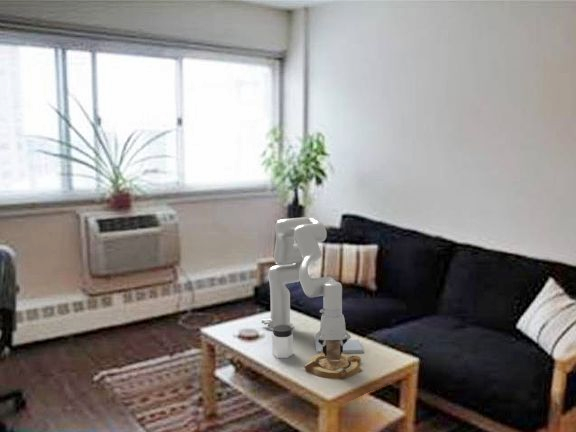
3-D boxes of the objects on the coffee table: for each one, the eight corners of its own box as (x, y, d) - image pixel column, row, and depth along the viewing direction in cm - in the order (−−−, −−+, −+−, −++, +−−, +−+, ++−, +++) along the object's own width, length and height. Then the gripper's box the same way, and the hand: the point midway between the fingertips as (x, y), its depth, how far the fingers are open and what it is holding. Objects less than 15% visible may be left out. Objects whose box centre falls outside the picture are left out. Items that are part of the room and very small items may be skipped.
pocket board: (317, 354, 245) (317, 350, 245) (314, 343, 257) (314, 340, 256) (363, 353, 246) (363, 349, 245) (358, 342, 257) (358, 339, 257)
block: (326, 360, 229) (326, 341, 228) (325, 354, 235) (325, 336, 234) (340, 359, 230) (340, 341, 228) (338, 354, 235) (338, 336, 234)
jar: (293, 350, 249) (292, 324, 247) (293, 358, 241) (292, 331, 239) (272, 350, 249) (272, 324, 247) (272, 358, 241) (271, 331, 239)
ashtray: (292, 367, 234) (292, 355, 234) (334, 353, 249) (334, 342, 248) (330, 387, 216) (330, 375, 215) (374, 371, 230) (374, 359, 229)
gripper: (312, 315, 225) (312, 358, 228) (355, 314, 226) (354, 357, 229) (310, 309, 233) (311, 351, 235) (352, 308, 233) (351, 350, 236)
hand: (332, 353), depth 232 cm, fingers closed on block, 5 cm apart
